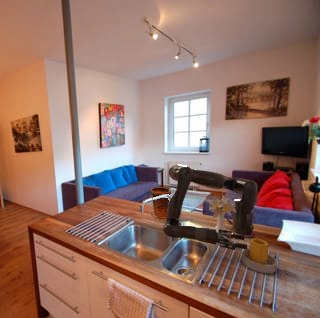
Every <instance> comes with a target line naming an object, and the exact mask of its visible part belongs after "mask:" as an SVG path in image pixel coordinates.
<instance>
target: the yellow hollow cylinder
mask: <svg viewBox="0 0 320 318" xmlns="http://www.w3.org/2000/svg"><path fill="white" fill-rule="evenodd" d="M249 249H250V260H251V261H253V262H256V263H259V264H264V265H267V258H268V254H269V243H268V242H267V241H266V240H263V239H261V238H254V237H253V238H251V239H250V242H249Z"/></svg>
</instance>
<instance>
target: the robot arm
mask: <svg viewBox="0 0 320 318" xmlns="http://www.w3.org/2000/svg"><path fill="white" fill-rule="evenodd" d="M168 176H169V177H170V178H171V180H173V181H174V182H175V181H176V183H177V185H176V189H175V192H174V193H173V194H172V196H170V201H169V203H168V208H167V218H165V222H164V224H163V227H162V231H163V233H164V234H165V236H167V237H170V238H176V239H189V240H193V241H197V242H199V243H200V242H201V243H205V244H210V245H215V246H216V245H217V243H218V245H219V248H224V249H228V250H232V251H236V249H241V250H246V249H248V245H247V244H246V243H241V242H236V241H234V240H239V241H245V239H246V238H251V237H253V236H254V230H255V229H254V228H255V226H254V217H255V205H256V203H257V196H258V183H257V182H255V181H254V180H251V179H246V178H242V177H232V176H231V177H230V176H227V175H224V174H222V173H220V172H219V173H218V172H214V171H209V170H202V169H193V168H191V167H189V166H188V165H184V164H183V165H182V164H173V165H171V166H170V167H169V169H168ZM191 183H193V184H196V185H199V186H201V187H203V188H204V187H205V188H209V189H213V190H222V189H223V190H229V191H231V192H233V193H236V194H239V195H241V198H236V199H233V200H234V203H235V204H236V206H235V207H234V208H235V209H236V212H235V213H234V212H233V215H232V221H231V220H230V219H229V217H228V216H227V215H224V218H226V220H227V222H229V223H230V224H231V226H232V228H231V229H232V230H228V229H226V230H221V229H219V230H218V232H216V229H213V227H206V226H199V225H190V224H183V225H180V218H181V214H182V211H183V205H184V201H185V198H186V196H187V193H188V192H189V191H188V190H189V188H190V185H191ZM234 203H233V204H234ZM228 232H229V233H228ZM233 239H234V240H233Z"/></svg>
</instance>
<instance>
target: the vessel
mask: <svg viewBox="0 0 320 318" xmlns="http://www.w3.org/2000/svg"><path fill="white" fill-rule="evenodd" d="M150 194H151V196H152V198H153V197H156V196H159V195H162V194H169V195H170V196H171V195H172V190H171V189H169V188H167V187H160V186H159V187H153V188H151V189H150ZM168 203H169V200H168V198H160V199H157V200H153V199H152V208H153V209H152V210H153V211H152V216H153V217H155V218H160V219H167V208H168Z"/></svg>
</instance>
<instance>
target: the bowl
mask: <svg viewBox="0 0 320 318" xmlns="http://www.w3.org/2000/svg"><path fill="white" fill-rule="evenodd" d="M241 262H242V263H243V264H244V266H246V267H247V268H248V269H251V270H253V271H254V272H257V273H258V272H259V273H262V274H273V273H275V272H276V271H277V268H278V261H277V259H276V258H275V257H274V256H273V255H271V254H269V253H268V258H267V265H264V264H259V263H256V262H253V261H251V260H250V248H249V249H248V248H247V249H242V251H241Z"/></svg>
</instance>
